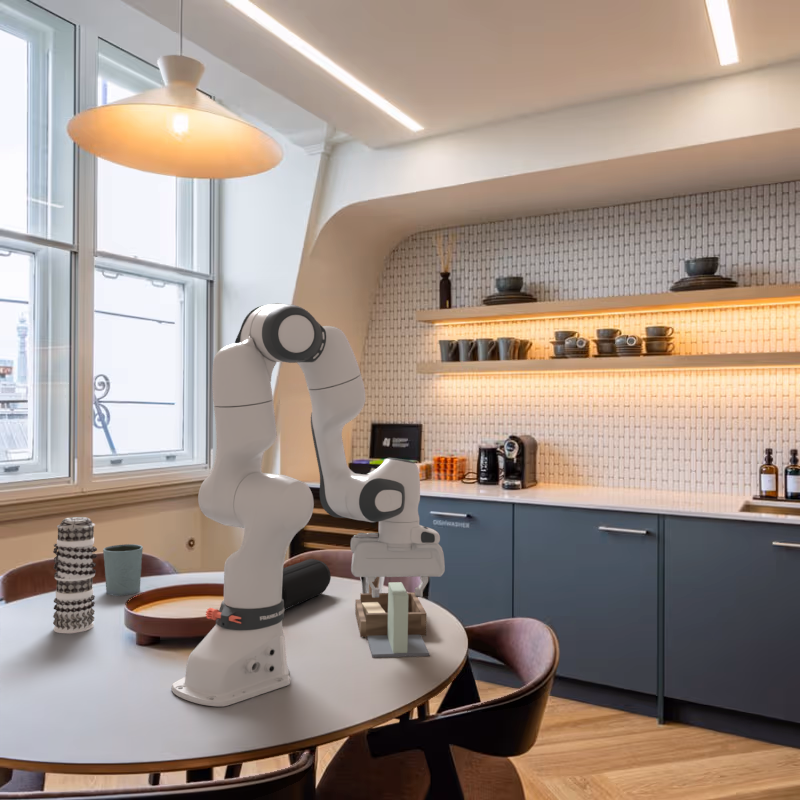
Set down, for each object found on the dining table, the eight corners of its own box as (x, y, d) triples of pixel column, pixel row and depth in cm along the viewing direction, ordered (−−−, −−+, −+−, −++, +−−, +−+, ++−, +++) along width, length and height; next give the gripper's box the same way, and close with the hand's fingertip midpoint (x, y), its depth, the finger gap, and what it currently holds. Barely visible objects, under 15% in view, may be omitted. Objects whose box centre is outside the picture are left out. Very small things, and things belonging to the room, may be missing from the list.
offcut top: (387, 624, 166) (387, 615, 166) (370, 625, 165) (370, 615, 165) (377, 610, 176) (377, 601, 176) (361, 611, 176) (361, 602, 176)
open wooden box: (426, 635, 163) (426, 613, 163) (360, 636, 161) (360, 614, 161) (414, 612, 181) (414, 592, 181) (355, 613, 179) (355, 593, 179)
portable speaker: (302, 591, 200) (303, 555, 200) (333, 595, 196) (334, 559, 196) (246, 614, 177) (246, 574, 177) (279, 620, 173) (280, 579, 173)
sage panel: (407, 652, 150) (408, 595, 150) (393, 653, 150) (394, 595, 150) (400, 635, 161) (401, 582, 161) (387, 635, 161) (388, 582, 161)
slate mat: (429, 655, 150) (429, 652, 150) (372, 657, 149) (372, 654, 149) (420, 637, 162) (420, 634, 162) (367, 638, 161) (367, 635, 161)
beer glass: (384, 610, 183) (385, 551, 183) (357, 609, 183) (358, 550, 183) (385, 602, 190) (386, 545, 190) (359, 601, 190) (360, 545, 190)
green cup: (139, 595, 192) (139, 550, 192) (98, 597, 190) (99, 551, 190) (144, 586, 202) (145, 543, 202) (106, 587, 200) (106, 544, 200)
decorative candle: (42, 631, 161) (44, 520, 161) (70, 620, 170) (72, 514, 170) (77, 635, 159) (79, 523, 159) (103, 623, 168) (106, 516, 168)
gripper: (351, 535, 151) (350, 601, 151) (447, 535, 154) (445, 600, 154) (350, 530, 157) (348, 593, 157) (441, 530, 160) (440, 592, 160)
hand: (397, 596), depth 155 cm, fingers open, 8 cm apart
